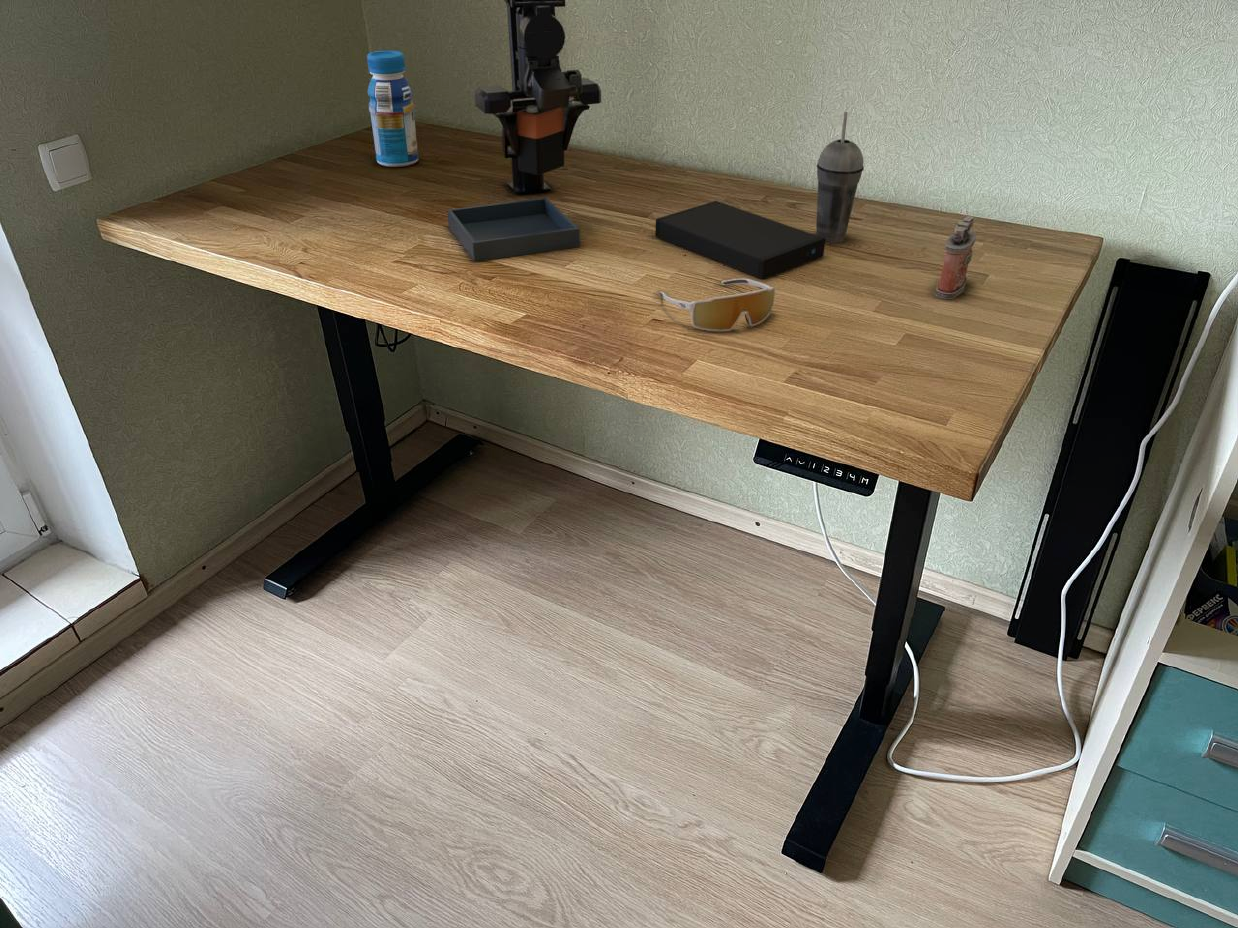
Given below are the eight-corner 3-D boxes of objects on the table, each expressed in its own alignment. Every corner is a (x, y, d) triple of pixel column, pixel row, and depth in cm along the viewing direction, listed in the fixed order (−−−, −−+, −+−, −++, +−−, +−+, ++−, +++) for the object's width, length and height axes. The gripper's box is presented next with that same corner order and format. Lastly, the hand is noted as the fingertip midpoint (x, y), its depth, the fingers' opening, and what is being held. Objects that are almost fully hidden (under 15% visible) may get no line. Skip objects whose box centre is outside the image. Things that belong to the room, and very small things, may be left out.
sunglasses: (697, 340, 123) (696, 302, 121) (647, 310, 136) (646, 276, 134) (790, 322, 128) (791, 285, 126) (734, 295, 141) (735, 261, 138)
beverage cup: (857, 234, 157) (877, 108, 146) (847, 249, 151) (866, 118, 140) (814, 227, 159) (830, 102, 148) (802, 241, 154) (817, 113, 143)
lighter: (954, 300, 135) (969, 232, 129) (930, 295, 136) (944, 227, 131) (969, 282, 140) (985, 215, 135) (947, 277, 142) (960, 211, 136)
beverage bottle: (368, 161, 189) (353, 53, 178) (404, 153, 193) (392, 47, 182) (390, 171, 184) (377, 60, 172) (428, 162, 188) (417, 54, 177)
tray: (448, 227, 158) (447, 209, 156) (547, 214, 163) (546, 197, 162) (474, 261, 145) (472, 243, 144) (580, 247, 151) (579, 228, 149)
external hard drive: (716, 217, 163) (717, 200, 161) (823, 256, 148) (826, 238, 147) (655, 237, 155) (655, 219, 153) (762, 280, 140) (764, 260, 139)
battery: (565, 166, 153) (564, 101, 147) (538, 176, 148) (536, 109, 143) (544, 161, 155) (542, 97, 150) (517, 171, 150) (514, 105, 145)
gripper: (492, 61, 132) (499, 173, 141) (615, 51, 139) (615, 160, 147) (470, 47, 141) (477, 154, 150) (587, 38, 147) (588, 141, 156)
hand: (540, 152), depth 150 cm, fingers closed on battery, 7 cm apart
